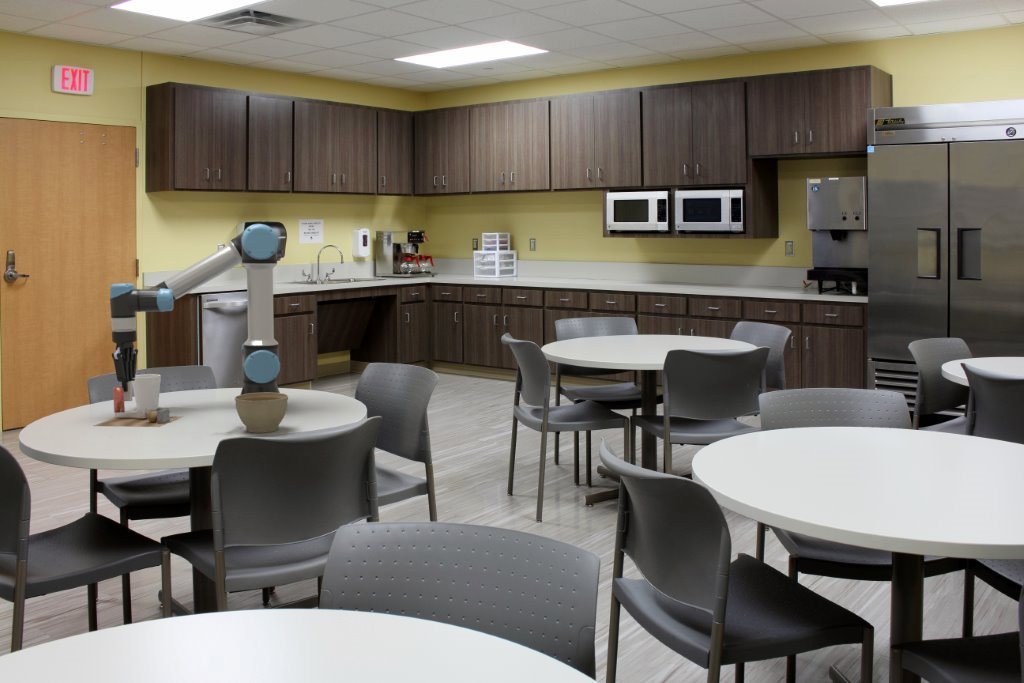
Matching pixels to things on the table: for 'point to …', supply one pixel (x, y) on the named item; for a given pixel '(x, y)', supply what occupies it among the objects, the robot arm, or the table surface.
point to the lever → (120, 409)
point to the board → (134, 421)
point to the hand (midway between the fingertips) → (127, 400)
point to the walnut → (152, 416)
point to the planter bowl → (261, 410)
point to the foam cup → (147, 391)
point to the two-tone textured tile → (163, 416)
